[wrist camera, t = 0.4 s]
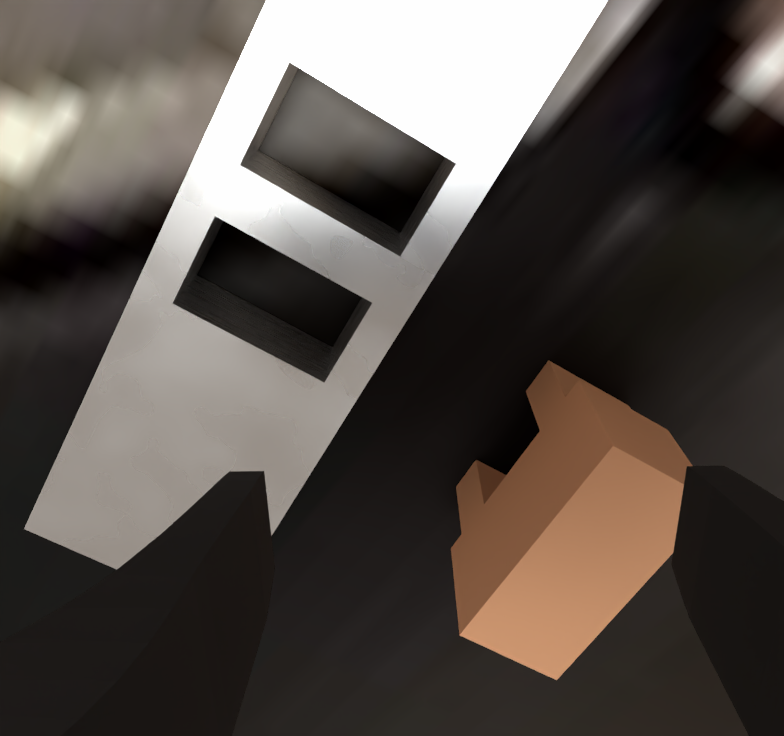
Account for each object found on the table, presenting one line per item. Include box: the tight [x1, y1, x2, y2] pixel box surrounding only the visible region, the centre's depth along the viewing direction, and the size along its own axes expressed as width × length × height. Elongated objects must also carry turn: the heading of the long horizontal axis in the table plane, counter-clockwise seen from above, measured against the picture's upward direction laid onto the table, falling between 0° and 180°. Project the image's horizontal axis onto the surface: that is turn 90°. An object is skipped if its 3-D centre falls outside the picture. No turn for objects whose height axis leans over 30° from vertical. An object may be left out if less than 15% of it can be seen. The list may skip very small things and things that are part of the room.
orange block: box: [451, 360, 692, 680], centre depth 21 cm, size 3×6×6 cm, turn 150°
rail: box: [24, 0, 608, 569], centre depth 19 cm, size 6×24×2 cm, turn 150°
